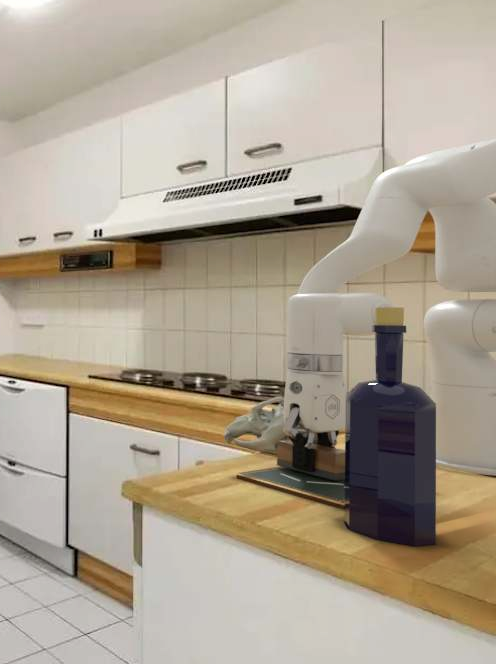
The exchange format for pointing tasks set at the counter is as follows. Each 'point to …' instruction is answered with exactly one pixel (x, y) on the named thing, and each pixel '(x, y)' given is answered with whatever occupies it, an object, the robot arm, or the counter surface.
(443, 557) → the counter surface
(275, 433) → the animal skull
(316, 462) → the eraser
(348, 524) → the bottle
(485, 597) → the counter surface
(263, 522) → the counter surface
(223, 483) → the counter surface
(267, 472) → the chalkboard
